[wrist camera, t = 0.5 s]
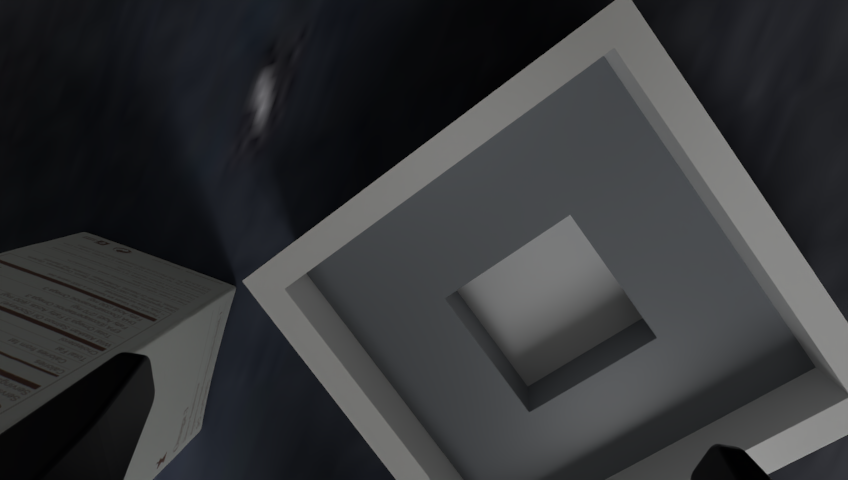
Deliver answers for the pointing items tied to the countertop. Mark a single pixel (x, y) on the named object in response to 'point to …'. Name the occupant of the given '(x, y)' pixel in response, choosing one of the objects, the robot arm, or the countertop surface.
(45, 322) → the supplement box
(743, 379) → the grey box
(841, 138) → the countertop surface
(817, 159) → the countertop surface
